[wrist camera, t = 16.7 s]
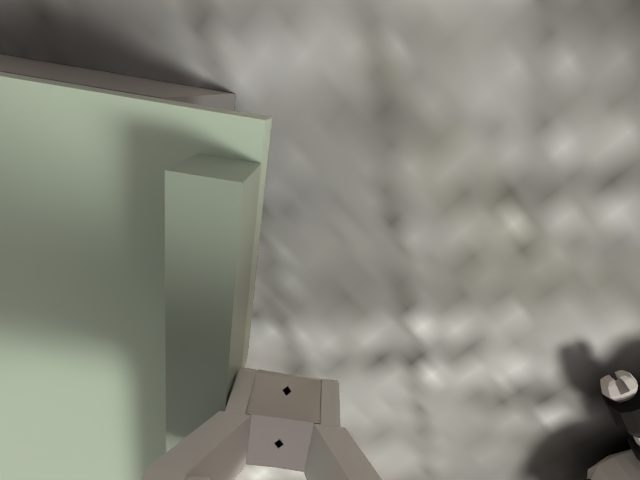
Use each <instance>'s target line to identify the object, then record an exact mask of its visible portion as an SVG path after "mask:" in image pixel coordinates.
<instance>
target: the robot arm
mask: <svg viewBox="0 0 640 480" xmlns="http://www.w3.org/2000/svg"><path fill="white" fill-rule="evenodd" d="M246 464H248V465H258V466H268V467H277V468H283V469H289V470H295V471H301V472H305V473H304V474H305V476H306V478H307V480H382V479H381V478H380V476H379V475H378V473H377V472H376V471H375V469H374V468H373V466H372V465H371V464H370V462H369V461H368V459H367V458H366V456H365V455H364V454H363V452H362V451H361V449H360V448H359V447H358V445H357V444H356V442H355V441H354V440H353V438H352V437H351V435H350V434H349V432H348V431H347V430H346V428H342V427H340V402H339V382H338V381H337V380H329V379H320V378H312V377H304V376H297V375H289V374H282V373H276V372H270V371H264V370H255V369H250V368H244V367H240V369H239V370H238V373H237V376H236V379H235V382H234V385H233V388H232V391H231V394H230V397H229V400H228V403H227V406H226V409H225V411H219V412H217V413H216V414H215V415H213V416H212V417H211V418H210V419H208V420H207V421H206V422H205V423H203V424H202V425H201V426H199V427H198V428H197V429H196V430H194V431H193V432H192V433H191V434H189V435H188V436H187V437H185V438H184V439H183V440H182V441H180V442H179V443H178V444H177V445H175V446H174V447H173V448H172V449H170V450H169V451H168V452H166V453H165V454H164V455H163V456H161V457H160V458H159V459H158V460H156V461H155V462H154V463H152V464H151V465H150V466H149V467H147V468H146V470H145V473H144V475H143V477H142V479H141V480H234V479H235V478H236V477H237V476H238V474H239V473H240V472H241V471H242V470H243V469H244V467H245V465H246Z"/></svg>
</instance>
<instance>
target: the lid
mask: <svg viewBox="0 0 640 480" xmlns="http://www.w3.org/2000/svg"><path fill="white" fill-rule="evenodd" d="M271 123H272V117H267V116H261V115H255V114H249V113H243V112H237V111H232V110H226V109H220V108H214V107H208V106H202V105H196V104H190V103H184V102H178V101H172V100H166V99H160V98H154V97H148V96H142V95H136V94H130V93H124V92H118V91H112V90H106V89H100V88H94V87H88V86H82V85H76V84H70V83H64V82H58V81H52V80H47V79H41V78H35V77H29V76H23V75H17V74H11V73H5V72H0V480H141V479H142V477H143V475H144V473H145V470H146V468H147V467H149V466H150V465H151V464H152V463H154V462H155V461H156V460H158V459H159V458H160V457H161V456H163V455H164V454H165V453H166V452H168V451H169V450H170V449H172V448H173V447H174V446H175V445H177V444H178V443H179V442H180V441H182V440H183V439H184V438H185V437H187V436H188V435H189V434H191V433H192V432H193V431H194V430H196V429H197V428H198V427H199V426H201V425H202V424H203V423H205V422H206V421H207V420H208V419H210V418H211V417H212V416H213V415H215V414H216V413H217V412H219V411H225V409H226V406H227V403H228V400H229V397H230V394H231V391H232V388H233V385H234V382H235V379H236V376H237V373H238V370H239V369H240V367H244V368H246V367H247V357H248V348H249V338H250V328H251V318H252V308H253V299H254V289H255V279H256V269H257V260H258V250H259V240H260V230H261V220H262V211H263V201H264V191H265V181H266V172H267V162H268V152H269V142H270V132H271ZM234 480H235V479H234Z"/></svg>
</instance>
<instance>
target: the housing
mask: <svg viewBox="0 0 640 480" xmlns="http://www.w3.org/2000/svg"><path fill="white" fill-rule="evenodd" d="M0 72H5V73H11V74H17V75H23V76H29V77H35V78H41V79H47V80H52V81H58V82H64V83H70V84H76V85H82V86H88V87H94V88H100V89H106V90H112V91H118V92H124V93H130V94H136V95H142V96H148V97H154V98H160V99H166V100H172V101H178V102H184V103H190V104H196V105H202V106H208V107H214V108H220V109H226V110H232V111H234V107H235V94H234V93H228V92H222V91H216V90H210V89H204V88H198V87H192V86H186V85H180V84H174V83H169V82H163V81H157V80H151V79H145V78H139V77H133V76H127V75H121V74H115V73H109V72H104V71H98V70H92V69H86V68H80V67H74V66H68V65H62V64H56V63H50V62H44V61H39V60H33V59H27V58H21V57H15V56H9V55H3V54H0Z"/></svg>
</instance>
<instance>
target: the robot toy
mask: <svg viewBox="0 0 640 480" xmlns="http://www.w3.org/2000/svg"><path fill="white" fill-rule="evenodd" d="M614 373H615V374H616V377H617V379H618V380H614V379H613V378H612V377H611V376H610V375H607V376H604V377H603V378H602V379H600V383H601V390H602V393H601V394H602V396H603V399H604V401H605V403H606V405H607V407H608V409H609V411H610V414H611V415H612V417H613V419H614V421H615V423H616V424H617V425H618V426H619V427H621V428H622V429H624V430H625V431H626V432H628V433H629V434H631V436H630V437H629V438H628V439H627V440H628V442H629V444H630V447H631V449H630V450H626V451H623V452H619V453H615V454H612V455H609V456H607V457H605V458H604V459H602V460H601V461H599V462H598V463H596V464H595V465H594V466H592V467H591V468H589V469H588V473H587V479H586V480H640V390H639V389H638V384H637V381H636V379H635V378H634V377H633V376H632V374H631V373H629V372H626V371H624V370H619V371H616V372H614Z"/></svg>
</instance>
